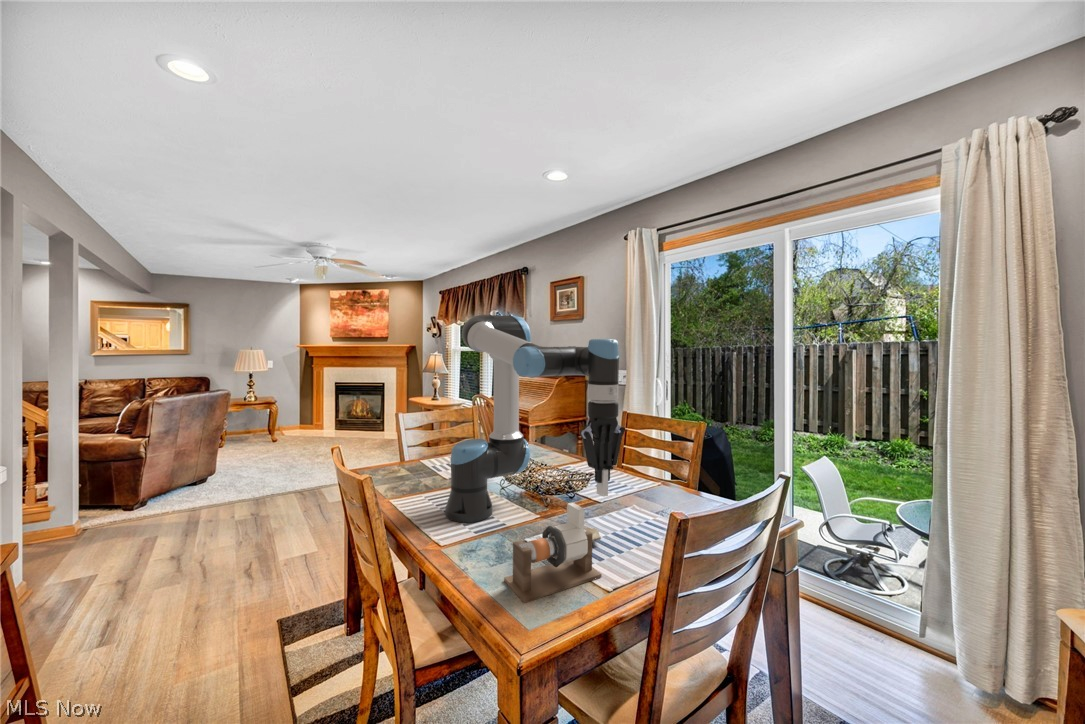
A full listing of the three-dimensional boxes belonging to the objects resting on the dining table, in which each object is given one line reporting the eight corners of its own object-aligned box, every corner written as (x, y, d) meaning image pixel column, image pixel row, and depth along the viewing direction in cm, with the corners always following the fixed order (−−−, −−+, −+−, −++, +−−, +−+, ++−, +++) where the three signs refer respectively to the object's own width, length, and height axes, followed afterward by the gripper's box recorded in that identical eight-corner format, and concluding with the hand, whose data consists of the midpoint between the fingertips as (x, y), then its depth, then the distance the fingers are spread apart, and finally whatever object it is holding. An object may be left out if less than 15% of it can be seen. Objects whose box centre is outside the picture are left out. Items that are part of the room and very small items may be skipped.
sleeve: (568, 548, 111) (569, 500, 111) (587, 562, 104) (588, 511, 104) (548, 554, 108) (548, 504, 108) (566, 569, 101) (567, 516, 101)
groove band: (539, 553, 105) (540, 534, 105) (550, 562, 101) (550, 542, 101) (526, 557, 103) (526, 537, 103) (536, 566, 99) (536, 546, 99)
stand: (577, 559, 114) (578, 521, 114) (601, 577, 105) (602, 536, 105) (504, 580, 103) (504, 539, 103) (524, 602, 95) (524, 557, 94)
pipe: (579, 542, 111) (579, 525, 110) (589, 550, 107) (590, 532, 107) (515, 560, 101) (515, 541, 101) (524, 568, 98) (524, 549, 97)
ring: (545, 555, 108) (546, 521, 108) (565, 571, 101) (565, 534, 100) (541, 556, 108) (541, 522, 107) (560, 573, 100) (560, 536, 100)
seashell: (549, 542, 124) (550, 532, 124) (575, 529, 133) (575, 519, 132) (583, 556, 116) (583, 545, 116) (608, 541, 125) (608, 531, 125)
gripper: (591, 404, 103) (590, 503, 104) (633, 401, 110) (632, 494, 110) (572, 400, 109) (572, 494, 110) (613, 397, 116) (612, 486, 117)
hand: (602, 494), depth 110 cm, fingers closed
